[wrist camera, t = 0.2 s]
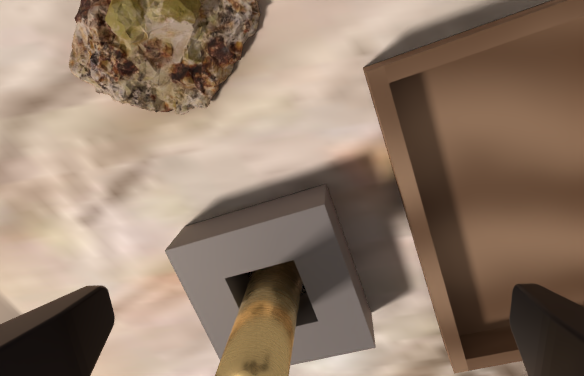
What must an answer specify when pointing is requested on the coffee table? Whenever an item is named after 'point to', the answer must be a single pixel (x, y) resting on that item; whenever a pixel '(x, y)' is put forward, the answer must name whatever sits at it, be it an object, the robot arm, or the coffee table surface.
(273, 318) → the brass pin
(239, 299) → the block
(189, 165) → the coffee table surface
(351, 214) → the coffee table surface
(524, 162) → the walnut tray
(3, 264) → the coffee table surface
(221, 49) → the mineral rock
